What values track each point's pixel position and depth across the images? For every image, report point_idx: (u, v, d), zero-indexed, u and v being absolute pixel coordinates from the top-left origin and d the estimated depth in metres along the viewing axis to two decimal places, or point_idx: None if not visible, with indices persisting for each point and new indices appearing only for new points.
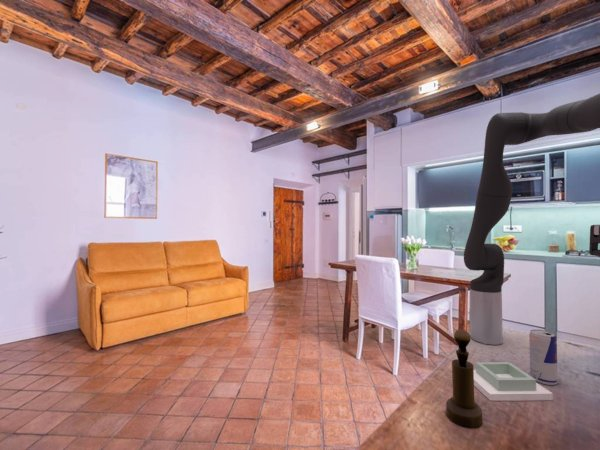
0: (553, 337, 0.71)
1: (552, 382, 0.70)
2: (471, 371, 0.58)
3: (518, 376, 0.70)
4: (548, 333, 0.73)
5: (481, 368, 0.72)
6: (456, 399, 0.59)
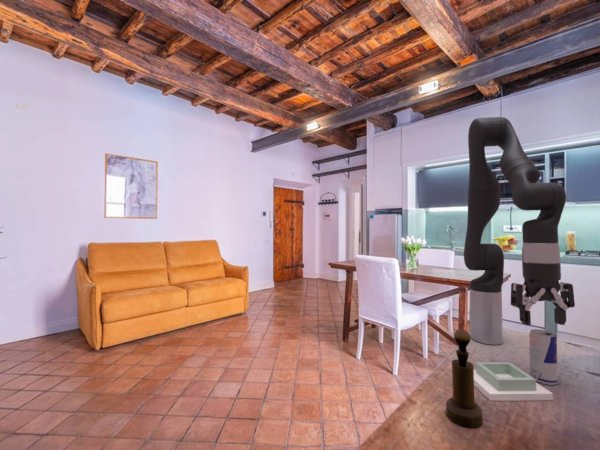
0: (553, 337, 0.71)
1: (552, 382, 0.70)
2: (471, 371, 0.58)
3: (518, 376, 0.70)
4: (548, 333, 0.73)
5: (481, 368, 0.72)
6: (456, 399, 0.59)
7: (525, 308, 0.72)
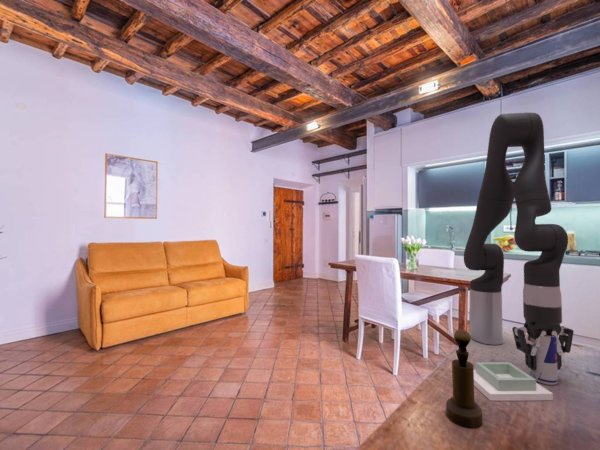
0: (553, 337, 0.71)
1: (552, 382, 0.70)
2: (471, 371, 0.58)
3: (518, 376, 0.70)
4: None
5: (481, 368, 0.72)
6: (456, 399, 0.59)
7: (531, 353, 0.72)
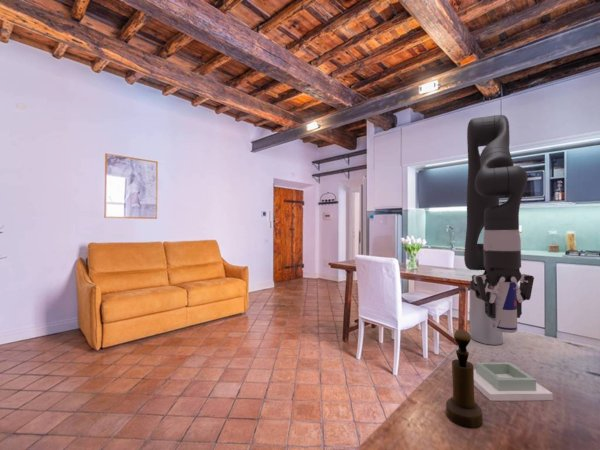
0: (512, 283, 0.68)
1: (511, 329, 0.68)
2: (471, 371, 0.58)
3: (518, 376, 0.70)
4: None
5: (481, 368, 0.72)
6: (456, 399, 0.59)
7: (490, 300, 0.69)
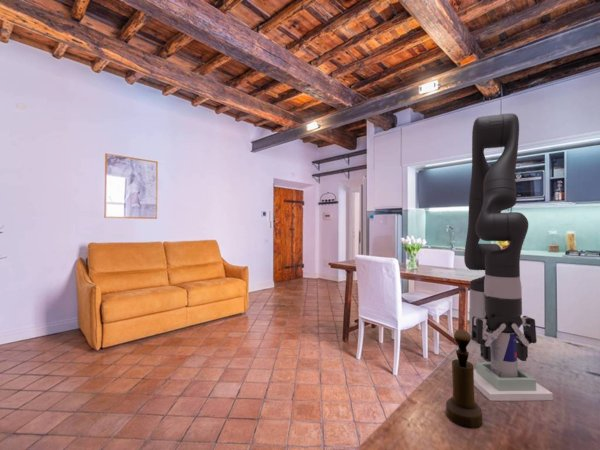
0: (512, 334, 0.69)
1: None
2: (471, 371, 0.58)
3: (518, 376, 0.70)
4: None
5: (481, 368, 0.72)
6: (456, 399, 0.59)
7: (485, 344, 0.69)
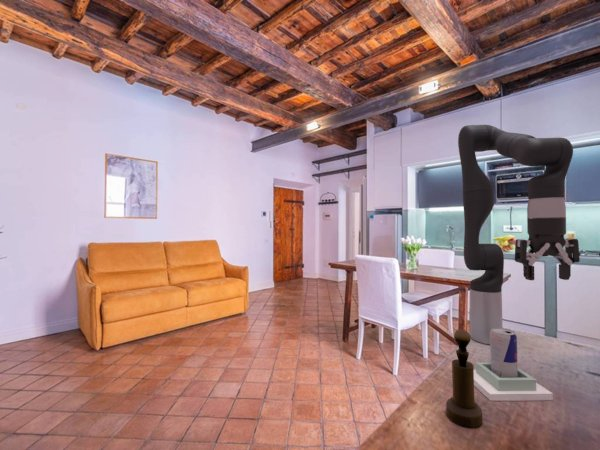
0: (513, 335, 0.68)
1: None
2: (471, 371, 0.58)
3: (518, 376, 0.70)
4: (508, 331, 0.71)
5: (481, 368, 0.72)
6: (456, 399, 0.59)
7: (529, 263, 0.72)
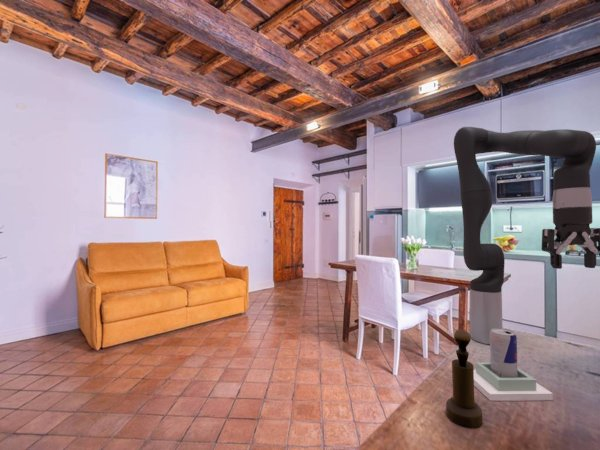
0: (513, 336, 0.68)
1: None
2: (471, 371, 0.58)
3: (518, 376, 0.70)
4: (508, 332, 0.71)
5: (481, 368, 0.72)
6: (456, 399, 0.59)
7: (557, 252, 0.74)
